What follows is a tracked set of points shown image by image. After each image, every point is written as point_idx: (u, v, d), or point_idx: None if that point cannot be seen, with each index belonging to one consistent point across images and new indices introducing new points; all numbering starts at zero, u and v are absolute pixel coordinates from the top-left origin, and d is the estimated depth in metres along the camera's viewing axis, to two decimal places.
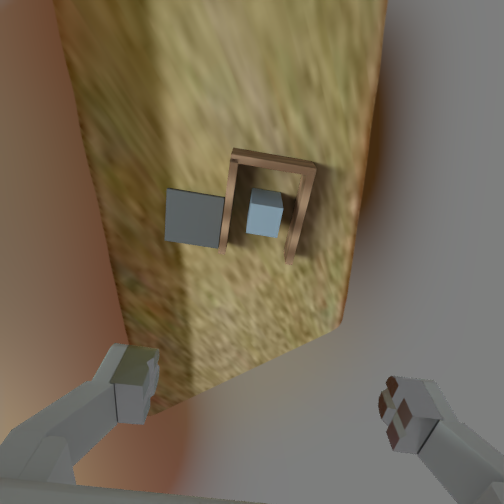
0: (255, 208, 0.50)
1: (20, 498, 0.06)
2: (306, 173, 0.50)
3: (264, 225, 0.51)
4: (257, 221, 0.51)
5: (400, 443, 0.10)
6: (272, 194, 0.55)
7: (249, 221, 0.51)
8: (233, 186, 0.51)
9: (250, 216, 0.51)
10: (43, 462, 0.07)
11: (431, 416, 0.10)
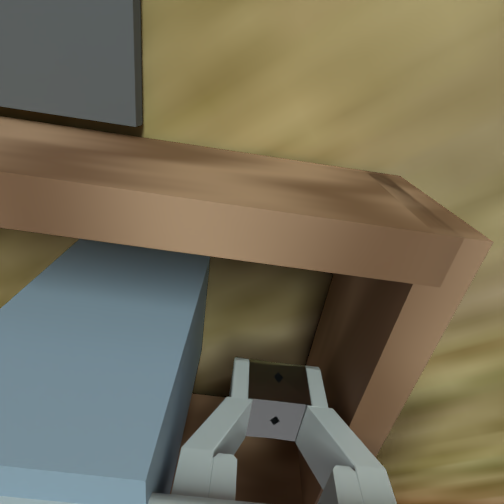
0: (110, 501, 0.06)
1: (20, 498, 0.06)
2: None
3: None
4: None
5: (275, 429, 0.10)
6: (195, 359, 0.13)
7: None
8: (245, 253, 0.07)
9: (21, 476, 0.06)
10: (224, 479, 0.07)
11: (300, 401, 0.10)
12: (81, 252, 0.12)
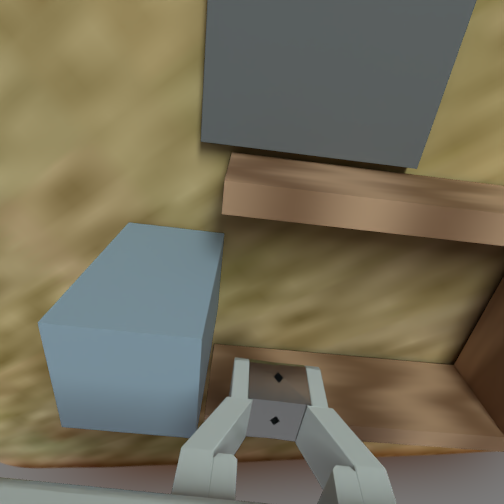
0: (180, 356, 0.11)
1: (20, 498, 0.06)
2: None
3: (105, 386, 0.11)
4: (116, 363, 0.11)
5: (275, 429, 0.10)
6: (215, 308, 0.17)
7: (105, 335, 0.10)
8: None
9: (133, 338, 0.10)
10: (224, 479, 0.07)
11: (300, 401, 0.10)
12: (132, 231, 0.16)
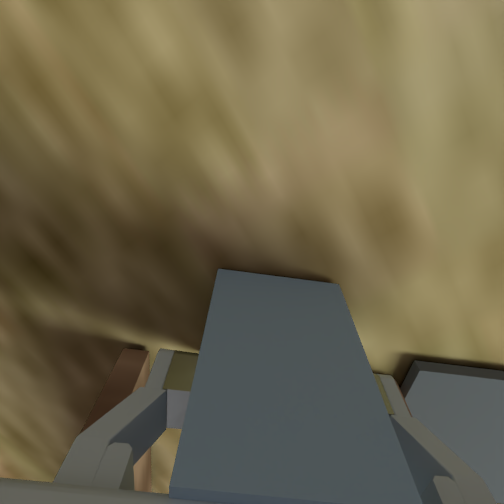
0: None
1: (20, 498, 0.06)
2: None
3: None
4: None
5: None
6: None
7: None
8: None
9: None
10: (112, 468, 0.07)
11: None
12: None
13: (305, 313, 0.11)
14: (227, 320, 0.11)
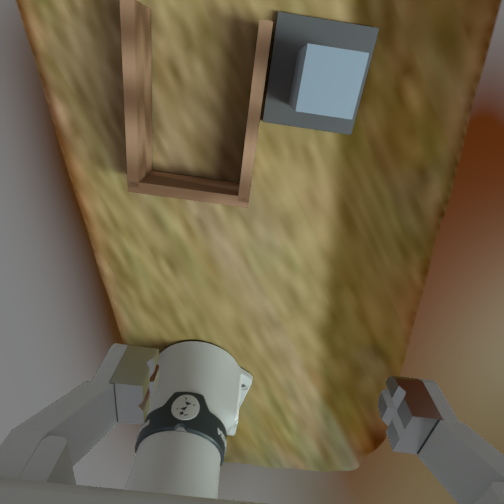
0: (344, 110, 0.28)
1: (20, 498, 0.06)
2: (140, 184, 0.35)
3: (331, 74, 0.27)
4: (344, 82, 0.27)
5: (400, 443, 0.10)
6: None
7: (359, 81, 0.27)
8: (243, 162, 0.34)
9: (356, 92, 0.27)
10: (42, 462, 0.07)
11: (431, 416, 0.10)
12: None
13: None
14: None
